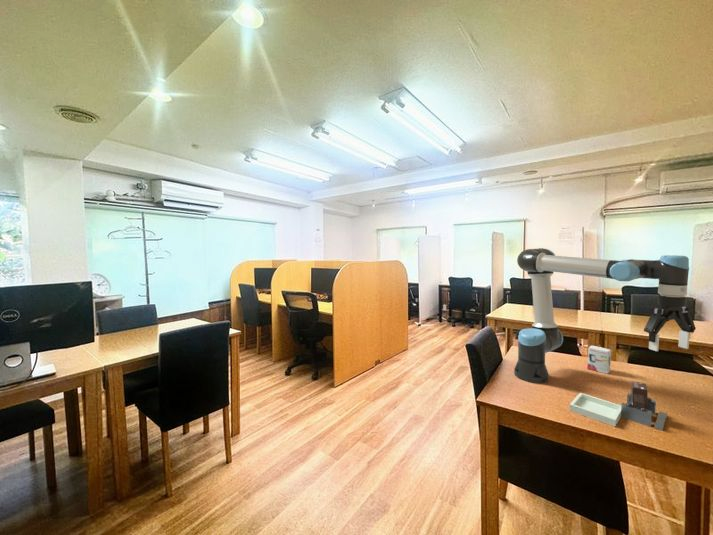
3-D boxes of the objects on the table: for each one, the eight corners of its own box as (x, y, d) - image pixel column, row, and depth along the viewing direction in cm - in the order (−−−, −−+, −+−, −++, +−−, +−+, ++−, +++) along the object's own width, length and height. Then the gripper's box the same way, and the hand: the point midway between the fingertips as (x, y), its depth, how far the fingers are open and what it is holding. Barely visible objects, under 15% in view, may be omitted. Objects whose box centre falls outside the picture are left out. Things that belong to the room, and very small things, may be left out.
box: (629, 409, 115) (631, 380, 114) (645, 413, 112) (647, 383, 112) (631, 416, 111) (632, 386, 110) (647, 421, 108) (649, 390, 107)
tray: (569, 410, 116) (569, 404, 116) (579, 398, 125) (580, 392, 124) (615, 426, 105) (615, 420, 105) (623, 412, 114) (623, 406, 113)
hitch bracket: (620, 416, 111) (621, 402, 110) (627, 404, 119) (628, 391, 118) (662, 430, 102) (663, 415, 102) (666, 416, 110) (667, 402, 110)
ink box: (586, 368, 153) (587, 347, 152) (589, 366, 156) (590, 345, 155) (608, 374, 146) (608, 351, 145) (610, 371, 149) (611, 349, 148)
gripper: (655, 298, 106) (651, 354, 108) (712, 295, 109) (708, 350, 110) (633, 295, 113) (630, 347, 115) (687, 292, 116) (683, 343, 118)
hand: (668, 348), depth 113 cm, fingers open, 13 cm apart
